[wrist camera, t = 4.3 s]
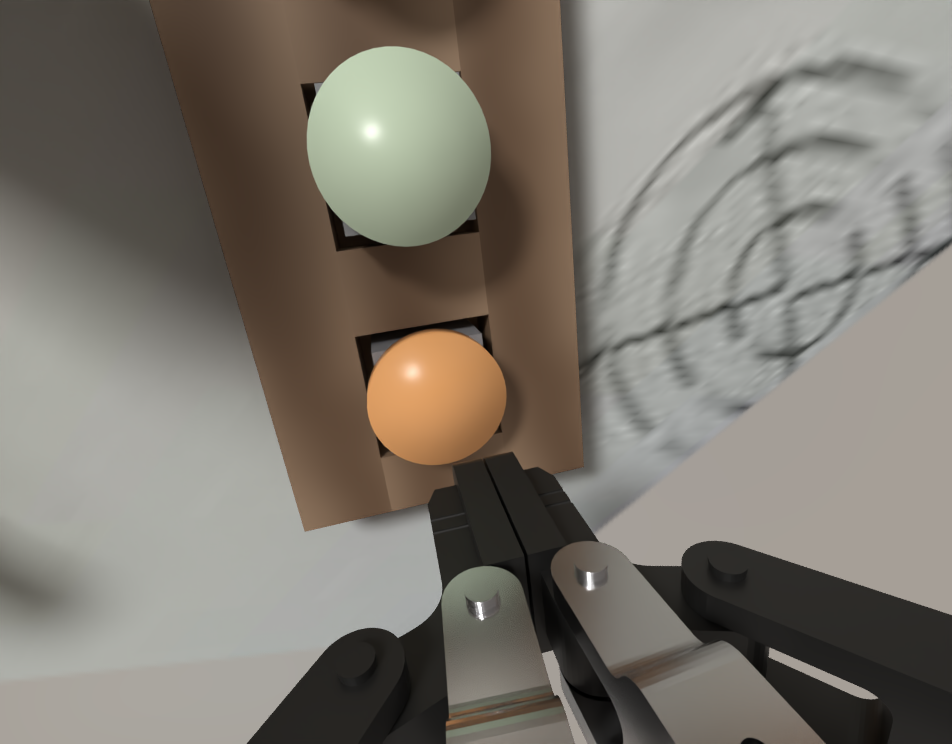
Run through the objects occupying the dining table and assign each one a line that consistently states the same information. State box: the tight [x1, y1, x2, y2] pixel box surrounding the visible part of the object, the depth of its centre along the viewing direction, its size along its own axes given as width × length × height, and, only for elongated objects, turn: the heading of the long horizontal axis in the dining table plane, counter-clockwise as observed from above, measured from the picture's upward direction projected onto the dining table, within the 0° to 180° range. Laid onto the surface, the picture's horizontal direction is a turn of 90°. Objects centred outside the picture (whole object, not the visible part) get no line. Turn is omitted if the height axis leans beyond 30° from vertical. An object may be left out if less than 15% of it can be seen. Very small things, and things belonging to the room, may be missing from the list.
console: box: [149, 0, 584, 531], centre depth 17 cm, size 12×26×3 cm, turn 8°
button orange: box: [367, 318, 507, 465], centre depth 18 cm, size 5×5×4 cm
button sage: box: [307, 46, 491, 247], centre depth 15 cm, size 5×5×4 cm
